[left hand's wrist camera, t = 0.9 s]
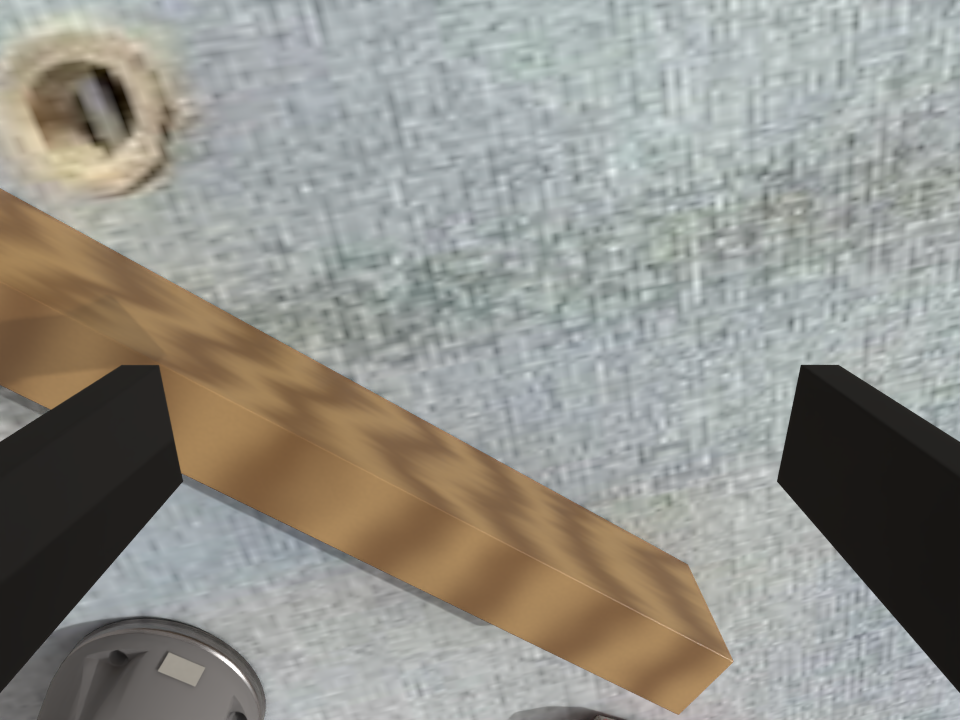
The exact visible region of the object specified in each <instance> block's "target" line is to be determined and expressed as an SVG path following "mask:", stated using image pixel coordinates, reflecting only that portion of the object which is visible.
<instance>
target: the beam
mask: <svg viewBox="0 0 960 720" xmlns="http://www.w3.org/2000/svg"><path fill="white" fill-rule="evenodd" d="M121 365H159V367H160V372H161V377H162V382H163V387H164V392H165V396H166V401H167V406H168V411H169V416H170V421H171V426H172V430H173V435H174V440H175V445H176V450H177V455H178V460H179V465H180V469H181V473H182V474H184V475H186V476H188V477H190V478H192V479H194V480H196V481H198V482H200V483H203V484H205V485H207V486H209V487H211V488H213V489H215V490H217V491H219V492H221V493H223V494H225V495H227V496H229V497H231V498H233V499H235V500H237V501H240V502H242V503H244V504H246V505H248V506H250V507H252V508H254V509H256V510H258V511H260V512H262V513H264V514H266V515H268V516H270V517H272V518H275V519H277V520H279V521H281V522H283V523H285V524H287V525H289V526H291V527H293V528H295V529H297V530H299V531H301V532H303V533H305V534H307V535H309V536H312V537H314V538H316V539H318V540H320V541H322V542H324V543H326V544H328V545H330V546H332V547H334V548H336V549H338V550H340V551H342V552H344V553H346V554H349V555H351V556H353V557H355V558H357V559H359V560H361V561H363V562H365V563H367V564H369V565H371V566H373V567H375V568H377V569H379V570H381V571H383V572H386V573H388V574H390V575H392V576H394V577H396V578H398V579H400V580H402V581H404V582H406V583H408V584H410V585H412V586H414V587H416V588H418V589H421V590H423V591H425V592H427V593H429V594H431V595H433V596H435V597H437V598H439V599H441V600H443V601H445V602H447V603H449V604H451V605H453V606H455V607H458V608H460V609H462V610H464V611H466V612H468V613H470V614H472V615H474V616H476V617H478V618H480V619H482V620H484V621H486V622H488V623H490V624H492V625H495V626H497V627H499V628H501V629H503V630H505V631H507V632H509V633H511V634H513V635H515V636H517V637H519V638H521V639H523V640H525V641H527V642H530V643H532V644H534V645H536V646H538V647H540V648H542V649H544V650H546V651H548V652H550V653H552V654H554V655H556V656H558V657H560V658H562V659H564V660H567V661H569V662H571V663H573V664H575V665H577V666H579V667H581V668H583V669H585V670H587V671H589V672H591V673H593V674H595V675H597V676H599V677H601V678H604V679H606V680H608V681H610V682H612V683H614V684H616V685H618V686H620V687H622V688H624V689H626V690H628V691H630V692H632V693H634V694H636V695H639V696H641V697H643V698H645V699H647V700H649V701H651V702H653V703H655V704H657V705H659V706H661V707H663V708H665V709H667V710H669V711H671V712H673V713H676V714H678V715H679V714H680V713H681V712H682V711H683V710H684V709H685V708H686V707H687V706H688V705H689V704H690V703H691V702H692V701H693V700H694V699H696V698H697V697H698V696H699V695H700V694H701V693H702V692H703V691H704V690H705V689H706V688H707V687H708V686H709V685H710V684H711V683H712V682H713V681H714V680H715V679H716V678H717V677H718V676H719V675H720V674H721V673H722V672H723V671H724V670H726V669H727V668H728V667H729V666H730V665H731V664H732V663H733V659H732V657H731V655H730V653H729V651H728V649H727V647H726V644H725V642H724V640H723V638H722V636H721V634H720V632H719V630H718V627H717V625H716V623H715V621H714V619H713V617H712V615H711V613H710V611H709V608H708V606H707V604H706V602H705V600H704V598H703V596H702V594H701V591H700V589H699V587H698V585H697V583H696V581H695V579H694V577H693V575H692V572H691V570H690V568H689V566H688V564H686V563H684V562H682V561H680V560H678V559H677V558H675V557H673V556H671V555H669V554H667V553H666V552H664V551H662V550H660V549H658V548H656V547H655V546H653V545H651V544H649V543H647V542H646V541H644V540H642V539H640V538H638V537H636V536H635V535H633V534H631V533H629V532H627V531H625V530H624V529H622V528H620V527H618V526H616V525H614V524H613V523H611V522H609V521H607V520H605V519H603V518H602V517H600V516H598V515H596V514H594V513H593V512H591V511H589V510H587V509H585V508H583V507H582V506H580V505H578V504H576V503H574V502H572V501H571V500H569V499H567V498H565V497H563V496H561V495H560V494H558V493H556V492H554V491H552V490H550V489H549V488H547V487H545V486H543V485H541V484H540V483H538V482H536V481H534V480H532V479H530V478H529V477H527V476H525V475H523V474H521V473H519V472H518V471H516V470H514V469H512V468H510V467H508V466H507V465H505V464H503V463H501V462H499V461H497V460H496V459H494V458H492V457H490V456H488V455H487V454H485V453H483V452H481V451H479V450H477V449H476V448H474V447H472V446H470V445H468V444H466V443H465V442H463V441H461V440H459V439H457V438H455V437H454V436H452V435H450V434H448V433H446V432H444V431H443V430H441V429H439V428H437V427H435V426H434V425H432V424H430V423H428V422H426V421H424V420H423V419H421V418H419V417H417V416H415V415H413V414H412V413H410V412H408V411H406V410H404V409H402V408H401V407H399V406H397V405H395V404H393V403H391V402H390V401H388V400H386V399H384V398H382V397H381V396H379V395H377V394H375V393H373V392H371V391H370V390H368V389H366V388H364V387H362V386H360V385H359V384H357V383H355V382H353V381H351V380H349V379H348V378H346V377H344V376H342V375H340V374H338V373H337V372H335V371H333V370H331V369H329V368H327V367H326V366H324V365H322V364H320V363H318V362H317V361H315V360H313V359H311V358H309V357H307V356H306V355H304V354H302V353H300V352H298V351H296V350H295V349H293V348H291V347H289V346H287V345H285V344H284V343H282V342H280V341H278V340H276V339H274V338H273V337H271V336H269V335H267V334H265V333H264V332H262V331H260V330H258V329H256V328H254V327H253V326H251V325H249V324H247V323H245V322H243V321H242V320H240V319H238V318H236V317H234V316H232V315H231V314H229V313H227V312H225V311H223V310H221V309H220V308H218V307H216V306H214V305H212V304H211V303H209V302H207V301H205V300H203V299H201V298H200V297H198V296H196V295H194V294H192V293H190V292H189V291H187V290H185V289H183V288H181V287H179V286H178V285H176V284H174V283H172V282H170V281H168V280H167V279H165V278H163V277H161V276H159V275H158V274H156V273H154V272H152V271H150V270H148V269H147V268H145V267H143V266H141V265H139V264H137V263H136V262H134V261H132V260H130V259H128V258H126V257H125V256H123V255H121V254H119V253H117V252H115V251H114V250H112V249H110V248H108V247H106V246H105V245H103V244H101V243H99V242H97V241H95V240H94V239H92V238H90V237H88V236H86V235H84V234H83V233H81V232H79V231H77V230H75V229H73V228H72V227H70V226H68V225H66V224H64V223H62V222H61V221H59V220H57V219H55V218H53V217H51V216H50V215H48V214H46V213H44V212H42V211H41V210H39V209H37V208H35V207H33V206H31V205H30V204H28V203H26V202H24V201H22V200H20V199H19V198H17V197H15V196H13V195H11V194H9V193H8V192H6V191H4V190H2V189H0V385H1V386H3V387H5V388H7V389H9V390H11V391H13V392H15V393H17V394H19V395H22V396H24V397H26V398H28V399H30V400H32V401H34V402H36V403H38V404H40V405H42V406H44V407H46V408H48V409H50V410H51V409H53V408H54V407H56V406H58V405H59V404H61V403H62V402H64V401H66V400H67V399H69V398H70V397H72V396H73V395H75V394H77V393H78V392H80V391H81V390H83V389H84V388H86V387H88V386H89V385H91V384H92V383H94V382H95V381H97V380H99V379H100V378H102V377H103V376H105V375H107V374H108V373H110V372H111V371H113V370H114V369H116V368H118V367H119V366H121Z"/></svg>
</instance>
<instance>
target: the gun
mask: <svg viewBox="0 0 960 720" xmlns="http://www.w3.org/2000/svg"><path fill="white" fill-rule="evenodd" d="M594 720H615V719H611V718H608V717H604V716H601V715H598V716H596V717H595V719H594Z"/></svg>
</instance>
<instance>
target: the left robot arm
mask: <svg viewBox="0 0 960 720" xmlns="http://www.w3.org/2000/svg"><path fill="white" fill-rule="evenodd" d="M182 482H183V479H182V474H181V469H180V465H179V460H178V455H177V450H176V445H175V440H174V435H173V430H172V426H171V421H170V416H169V411H168V406H167V401H166V396H165V392H164V387H163V382H162V377H161V372H160V367H159V365H121V366H119V367H118V368H116V369H114V370H113V371H111V372H110V373H108V374H107V375H105V376H103V377H102V378H100V379H99V380H97V381H95V382H94V383H92V384H91V385H89V386H88V387H86V388H84V389H83V390H81V391H80V392H78V393H77V394H75V395H73V396H72V397H70V398H69V399H67V400H66V401H64V402H62V403H61V404H59V405H58V406H56V407H54V408H53V409H51V410H50V411H48V412H47V413H45V414H43V415H42V416H40V417H39V418H37V419H36V420H34V421H32V422H31V423H29V424H28V425H26V426H25V427H23V428H21V429H20V430H18V431H17V432H15V433H13V434H12V435H10V436H9V437H7V438H6V439H4V440H2V441H1V442H0V693H1V691H2V690H3V689H4V688H5V687H6V686H7V684H8V683H9V682H10V681H11V680H12V679H13V677H14V676H15V675H16V674H17V673H18V672H19V671H20V669H21V668H22V667H23V666H24V665H25V664H26V662H27V661H28V660H29V659H30V658H31V657H32V655H33V654H34V653H35V652H36V651H37V650H38V649H39V647H40V646H41V645H42V644H43V643H44V642H45V640H46V639H47V638H48V637H49V636H50V635H51V633H52V632H53V631H54V630H55V629H56V628H57V627H58V625H59V624H60V623H61V622H62V621H63V620H64V618H65V617H66V616H67V615H68V614H69V613H70V611H71V610H72V609H73V608H74V607H75V606H76V605H77V603H78V602H79V601H80V600H81V599H82V598H83V596H84V595H85V594H86V593H87V592H88V591H89V590H90V588H91V587H92V586H93V585H94V584H95V583H96V581H97V580H98V579H99V578H100V577H101V576H102V574H103V573H104V572H105V571H106V570H107V569H108V568H109V566H110V565H111V564H112V563H113V562H114V561H115V559H116V558H117V557H118V556H119V555H120V554H121V552H122V551H123V550H124V549H125V548H126V547H127V546H128V544H129V543H130V542H131V541H132V540H133V539H134V537H135V536H136V535H137V534H138V533H139V532H140V530H141V529H142V528H143V527H144V526H145V525H146V524H147V522H148V521H149V520H150V519H151V518H152V517H153V515H154V514H155V513H156V512H157V511H158V510H159V508H160V507H161V506H162V505H163V504H164V503H165V502H166V500H167V499H168V498H169V497H170V496H171V495H172V493H173V492H174V491H175V490H176V489H177V488H178V487H179V485H180V484H181V483H182ZM777 482H778V483H779V484H780V485H781V487H782V488H783V489H784V490H785V491H786V492H787V493H788V495H789V496H790V497H791V498H792V499H793V500H794V502H795V503H796V504H797V505H798V506H799V507H800V509H801V510H802V511H803V512H804V513H805V514H806V515H807V517H808V518H809V519H810V520H811V521H812V522H813V524H814V525H815V526H816V527H817V528H818V529H819V530H820V532H821V533H822V534H823V535H824V536H825V537H826V539H827V540H828V541H829V542H830V543H831V544H832V546H833V547H834V548H835V549H836V550H837V551H838V552H839V554H840V555H841V556H842V557H843V558H844V559H845V561H846V562H847V563H848V564H849V565H850V566H851V568H852V569H853V570H854V571H855V572H856V573H857V574H858V576H859V577H860V578H861V579H862V580H863V581H864V583H865V584H866V585H867V586H868V587H869V588H870V590H871V591H872V592H873V593H874V594H875V595H876V596H877V598H878V599H879V600H880V601H881V602H882V603H883V605H884V606H885V607H886V608H887V609H888V610H889V611H890V613H891V614H892V615H893V616H894V617H895V618H896V620H897V621H898V622H899V623H900V624H901V625H902V627H903V628H904V629H905V630H906V631H907V632H908V633H909V635H910V636H911V637H912V638H913V639H914V640H915V642H916V643H917V644H918V645H919V646H920V647H921V649H922V650H923V651H924V652H925V653H926V654H927V655H928V657H929V658H930V659H931V660H932V661H933V662H934V664H935V665H936V666H937V667H938V668H939V669H940V671H941V672H942V673H943V674H944V675H945V676H946V677H947V679H948V680H949V681H950V682H951V683H952V684H953V686H954V687H955V688H956V689H957V690H958V691H959V693H960V442H959V441H958V440H956V439H954V438H953V437H951V436H950V435H948V434H947V433H945V432H943V431H942V430H940V429H939V428H937V427H935V426H934V425H932V424H931V423H929V422H928V421H926V420H924V419H923V418H921V417H920V416H918V415H917V414H915V413H913V412H912V411H910V410H909V409H907V408H906V407H904V406H902V405H901V404H899V403H898V402H896V401H894V400H893V399H891V398H890V397H888V396H887V395H885V394H883V393H882V392H880V391H879V390H877V389H876V388H874V387H872V386H871V385H869V384H868V383H866V382H865V381H863V380H861V379H860V378H858V377H857V376H855V375H853V374H852V373H850V372H849V371H847V370H846V369H844V368H842V367H841V366H839V365H801V367H800V372H799V377H798V382H797V387H796V392H795V396H794V401H793V406H792V411H791V416H790V421H789V426H788V430H787V435H786V440H785V445H784V450H783V455H782V460H781V465H780V469H779V474H778V479H777ZM265 710H266V701H265V694H264V691H263V687H262V685H261V682H260V680H259V678H258V676H257V675H256V673H255V671H254V670H253V669H252V667H251V666H250V665H249V663H248V662H247V661H246V660H245V659H244V658H243V657H242V656H241V655H240V654H239V653H238V652H237V651H235V650H234V649H233V648H232V647H231V646H229V645H228V644H226V643H225V642H223V641H222V640H220V639H218V638H217V637H215V636H213V635H211V634H209V633H207V632H205V631H202V630H200V629H197V628H195V627H192V626H189V625H185V624H182V623H177V622H173V621H167V620H159V619H132V620H124V621H120V622H115V623H112V624H109V625H106V626H103V627H101V628H99V629H97V630H95V631H93V632H91V633H90V634H88V635H87V636H86V637H84V638H83V639H82V640H81V641H80V642H79V643H78V644H77V645H76V646H75V648H74V649H73V650H72V651H71V653H70V654H69V655H68V656H67V658H66V659H65V660H64V661H63V663H62V664H61V666H60V668H59V669H58V671H57V673H56V674H55V676H54V678H53V680H52V682H51V684H50V686H49V689H48V691H47V694H46V697H45V699H44V702H43V705H42V707H41V710H40V713H39V715H38V718H37V720H264V716H265Z"/></svg>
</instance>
